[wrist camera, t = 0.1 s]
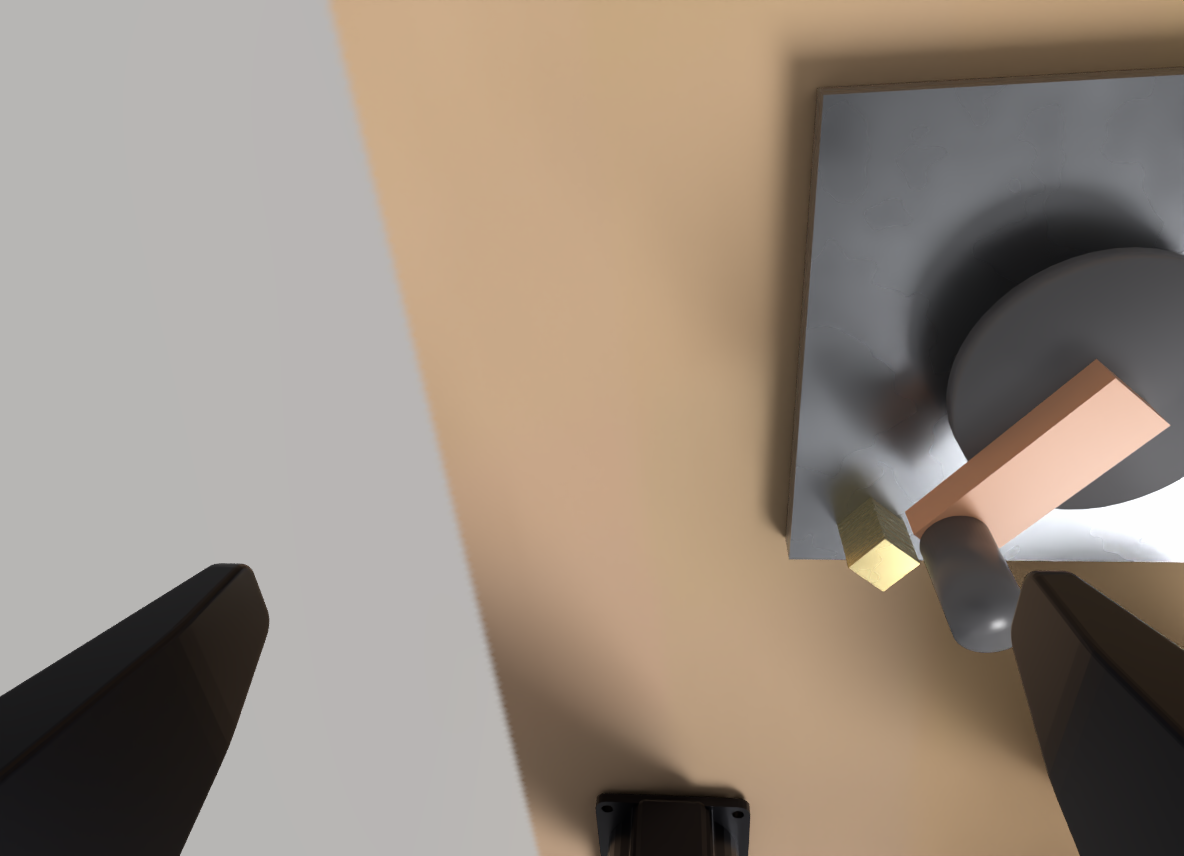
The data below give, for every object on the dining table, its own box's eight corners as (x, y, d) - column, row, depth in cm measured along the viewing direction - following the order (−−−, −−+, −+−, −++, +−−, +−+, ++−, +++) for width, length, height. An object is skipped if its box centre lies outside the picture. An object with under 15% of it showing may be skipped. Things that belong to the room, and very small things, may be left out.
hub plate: (1243, 541, 25) (1306, 610, 23) (785, 539, 27) (796, 602, 24) (1461, 50, 18) (1589, 70, 15) (817, 87, 20) (837, 110, 17)
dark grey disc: (1125, 186, 18) (1255, 259, 14) (1310, 361, 20) (1473, 472, 16) (823, 456, 22) (855, 572, 18) (995, 581, 24) (1059, 712, 20)
